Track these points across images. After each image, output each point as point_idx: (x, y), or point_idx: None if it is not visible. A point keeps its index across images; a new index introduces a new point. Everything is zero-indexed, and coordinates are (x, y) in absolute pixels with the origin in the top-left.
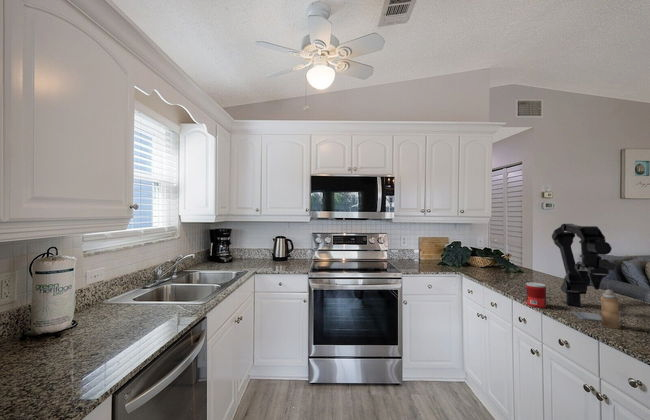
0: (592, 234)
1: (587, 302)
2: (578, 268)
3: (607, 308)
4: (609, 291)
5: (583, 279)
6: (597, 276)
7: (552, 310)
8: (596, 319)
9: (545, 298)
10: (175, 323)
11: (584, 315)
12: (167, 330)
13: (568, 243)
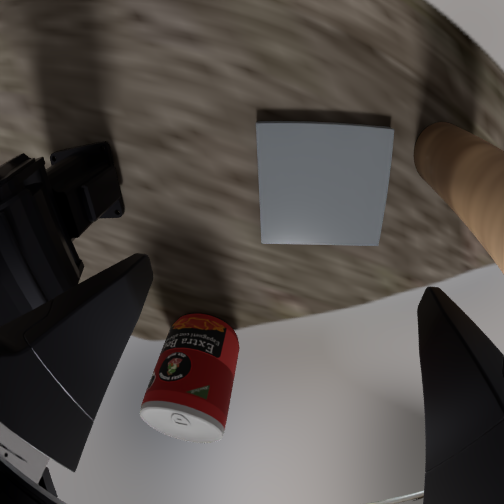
0: None
1: (18, 108)
2: (49, 487)
3: None
4: None
5: (119, 359)
6: (501, 465)
7: (253, 306)
8: (386, 185)
9: (211, 354)
10: (399, 497)
11: (326, 214)
12: (412, 494)
13: None
